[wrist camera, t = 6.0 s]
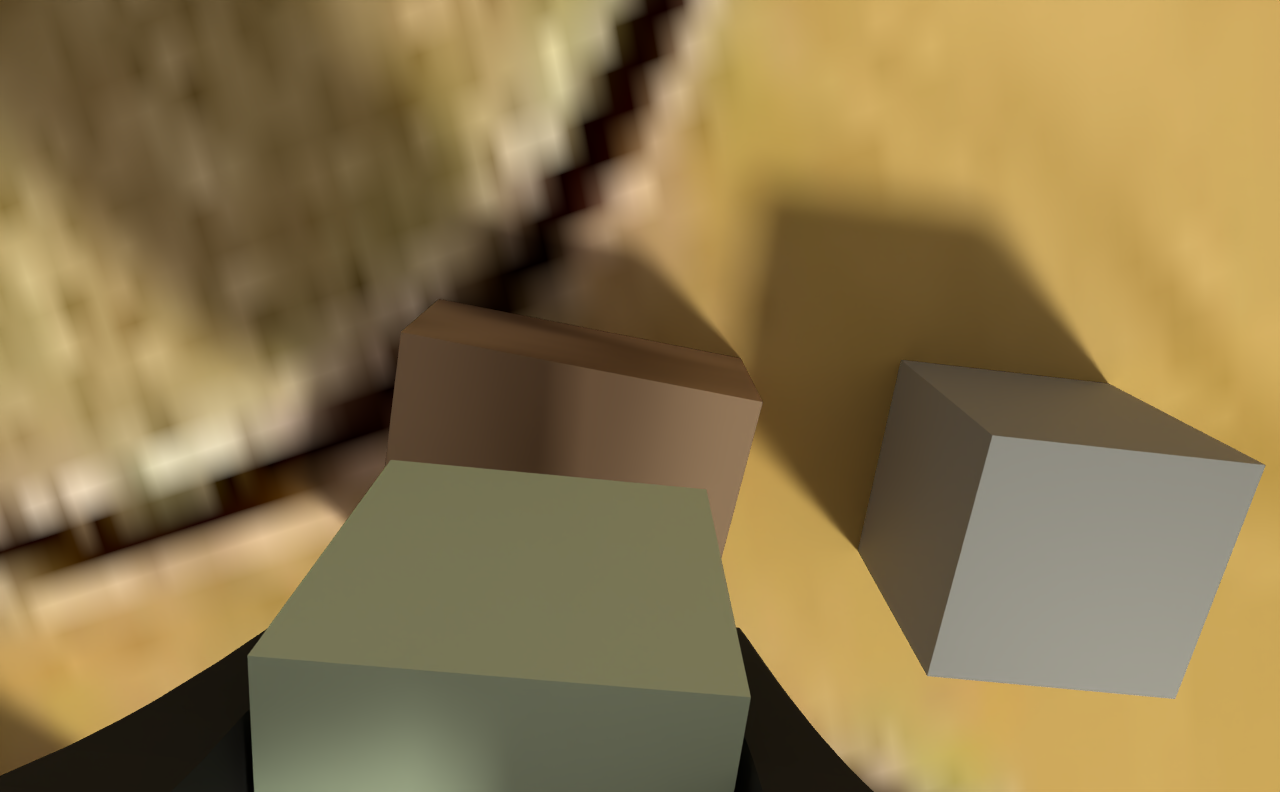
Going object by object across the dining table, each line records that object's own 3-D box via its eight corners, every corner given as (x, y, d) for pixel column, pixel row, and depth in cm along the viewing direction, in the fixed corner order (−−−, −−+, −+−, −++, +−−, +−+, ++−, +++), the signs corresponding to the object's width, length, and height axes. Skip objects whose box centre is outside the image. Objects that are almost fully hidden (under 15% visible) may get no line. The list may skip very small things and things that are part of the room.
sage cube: (386, 721, 14) (265, 1017, 9) (390, 459, 13) (247, 655, 8) (669, 744, 14) (688, 1044, 10) (706, 489, 13) (751, 697, 8)
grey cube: (857, 549, 20) (927, 675, 16) (900, 359, 19) (992, 434, 14) (1048, 568, 21) (1175, 698, 16) (1106, 382, 19) (1265, 465, 14)
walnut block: (406, 563, 21) (363, 646, 17) (442, 296, 18) (401, 331, 15) (675, 610, 21) (684, 699, 18) (739, 355, 19) (762, 402, 16)
